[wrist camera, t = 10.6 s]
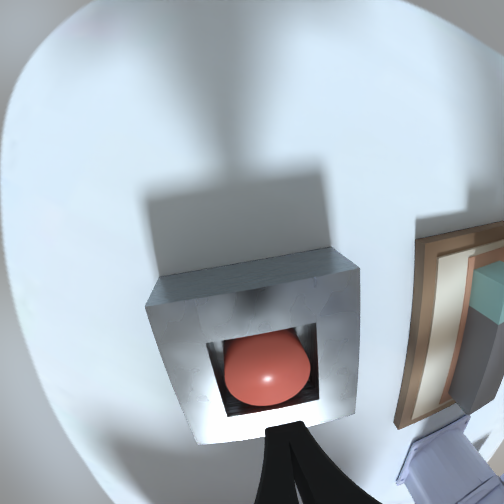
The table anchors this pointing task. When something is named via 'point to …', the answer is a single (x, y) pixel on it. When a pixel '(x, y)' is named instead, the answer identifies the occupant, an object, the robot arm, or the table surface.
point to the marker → (481, 341)
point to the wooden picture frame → (441, 315)
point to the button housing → (257, 322)
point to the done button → (265, 367)
